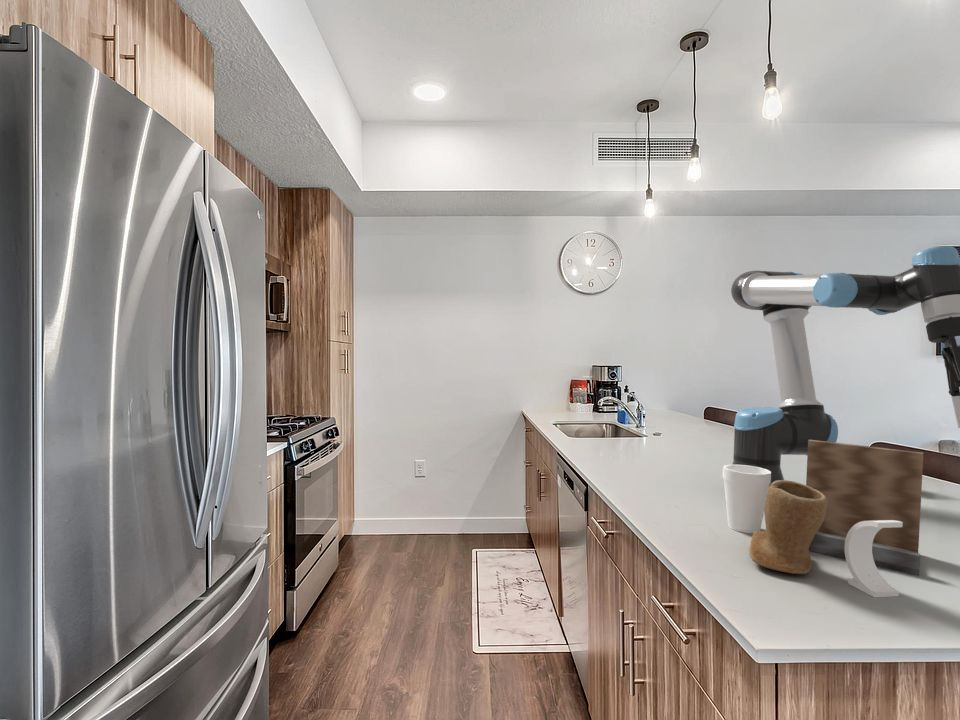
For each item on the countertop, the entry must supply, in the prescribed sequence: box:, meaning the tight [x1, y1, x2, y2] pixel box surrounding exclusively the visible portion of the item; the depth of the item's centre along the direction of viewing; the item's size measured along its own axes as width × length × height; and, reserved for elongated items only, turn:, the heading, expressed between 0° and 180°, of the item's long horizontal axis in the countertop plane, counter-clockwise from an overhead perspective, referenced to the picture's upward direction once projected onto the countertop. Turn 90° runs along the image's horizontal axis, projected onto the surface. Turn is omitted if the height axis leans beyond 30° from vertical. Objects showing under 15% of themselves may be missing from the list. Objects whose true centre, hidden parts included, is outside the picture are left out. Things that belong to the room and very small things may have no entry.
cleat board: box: [805, 440, 924, 576], centre depth 104 cm, size 19×14×20 cm
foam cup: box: [722, 464, 771, 534], centre depth 116 cm, size 10×9×13 cm
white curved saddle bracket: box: [844, 520, 903, 598], centre depth 87 cm, size 5×6×12 cm
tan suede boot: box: [748, 479, 828, 575], centre depth 97 cm, size 15×12×15 cm
